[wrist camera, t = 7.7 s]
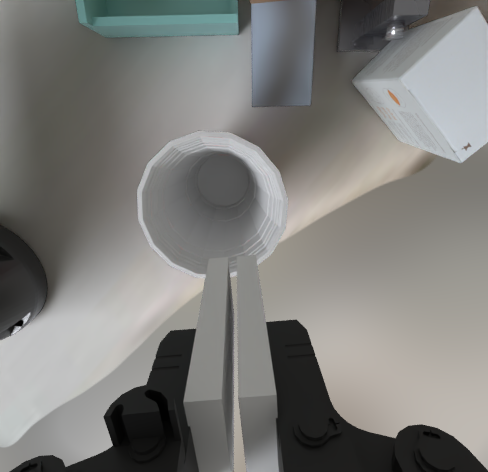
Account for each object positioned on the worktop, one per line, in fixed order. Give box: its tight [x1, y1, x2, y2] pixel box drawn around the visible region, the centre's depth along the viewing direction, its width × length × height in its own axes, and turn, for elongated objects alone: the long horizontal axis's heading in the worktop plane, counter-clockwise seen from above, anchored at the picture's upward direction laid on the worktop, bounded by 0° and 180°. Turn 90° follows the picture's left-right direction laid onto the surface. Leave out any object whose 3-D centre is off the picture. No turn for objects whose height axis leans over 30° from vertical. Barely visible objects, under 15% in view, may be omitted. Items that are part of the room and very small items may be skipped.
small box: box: [352, 6, 488, 163], centre depth 25 cm, size 8×6×10 cm
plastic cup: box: [137, 131, 288, 278], centre depth 28 cm, size 11×11×12 cm
